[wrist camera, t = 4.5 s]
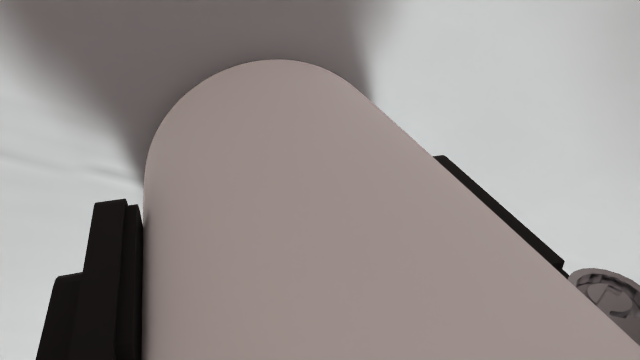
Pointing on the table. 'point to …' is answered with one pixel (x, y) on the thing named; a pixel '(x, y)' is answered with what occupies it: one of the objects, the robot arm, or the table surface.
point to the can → (335, 239)
